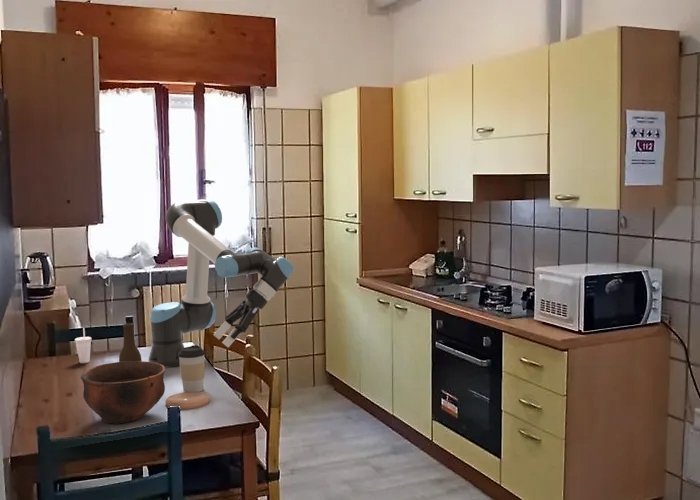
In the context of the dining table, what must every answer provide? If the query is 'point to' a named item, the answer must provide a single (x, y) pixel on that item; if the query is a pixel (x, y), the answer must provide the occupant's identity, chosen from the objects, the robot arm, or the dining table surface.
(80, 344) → the smoothie
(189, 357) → the coffee cup
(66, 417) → the dining table surface
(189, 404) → the saucer
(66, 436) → the dining table surface
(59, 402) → the dining table surface
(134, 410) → the bowl
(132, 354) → the beer bottle
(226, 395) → the dining table surface
